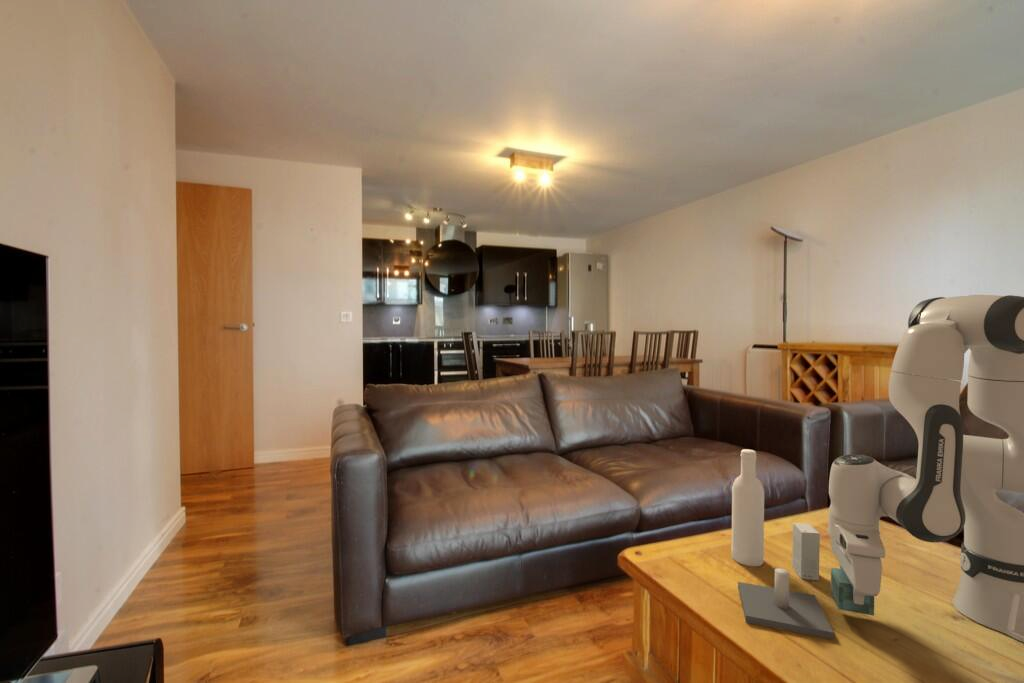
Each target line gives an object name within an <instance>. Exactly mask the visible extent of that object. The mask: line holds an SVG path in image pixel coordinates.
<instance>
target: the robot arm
mask: <svg viewBox="0 0 1024 683" xmlns="http://www.w3.org/2000/svg"><path fill="white" fill-rule="evenodd" d="M907 325H908V326H907V327H908V329H906V330H905V331H904V333H903V334H902V336H901V339H900V341H899V344H898V346H897V349H896V352H895V354H894V358H893V360H892V365H891V369H890V370H891V371H890V374H889V379H888V398H889V399H888V400H889V402H890V404H891V405H892V407H893V408H894V409H895V410H896V411H897V412H898V413H899V414H900V415H901V416H902V417H903V418H904V419H905V420H906V421H907V423H909V424H910V426H911V428H912V429H913V430H914V432H915V435H916V437H917V440H918V451H917V466H916V476H915V477H916V478H915V477H913V476H911V475H909V474H908V473H905V472H902V471H900V470H895V469H892V468H890V467H888V466H887V465H884V464H882V463H880V462H878V461H877V460H876V459H874V457H872V456H868V455H865V454H858V453H857V454H856V453H855V454H852V453H851V454H845V455H844V454H843V455H840V456H839V457H837V458H835V459H834V460H833V462H832V464H831V467H830V470H829V471H830V472H829V479H828V495H829V499H830V505H829V507H828V518H827V519H828V520H827V521H828V522H827V526H828V527H827V532H828V535H829V536H830V550H831V551H832V553H833V555H834V556H835V558H836V561H838V565H839V569H843V570H844V572H845V573H846V575H847V577H848V578H849V580H850V582H851V584H852V585H853V587H854V588H853V592H852V599H853V601H854V603H855V604H860V605H863V604H864V597H865V595H868V596H874V597H877V596H878V595H879V594H880V591H881V584H882V572H883V568H882V567H883V564H882V559H885V557H886V548H885V546H884V543H883V542H882V538H881V531H880V518H882V517H887V518H888V517H889V518H890V519H892V520H894V521H895V522H896V523H897V524H899V525H900V526H901V527H902V528H903V529H904V530H906V532H908V533H909V534H910V535H911V536H912V537H914V538H916V539H917V540H919V541H922V542H926V543H942V542H946V541H949V540H951V539H953V538H955V537H957V536H958V535H959V534H960V533H961V532H962V531H963V542H962V543H961V546H960V548H961V549H960V559H959V560H960V569H961V574H960V579H959V582H958V587H957V590H956V593H955V594H954V597H953V599H952V601H951V602H952V605H953V607H954V608H955V610H957V611H958V612H959V613H961V614H962V615H964V616H965V617H967V618H968V619H970V620H972V621H974V622H976V623H977V624H981V625H983V626H985V627H987V628H989V629H993V630H995V631H998V632H1000V633H1004V635H1005V634H1006V635H1007V636H1009V637H1011V638H1013V639H1015V640H1017V641H1019V642H1021V643H1024V512H1023V511H1021V510H1020V509H1018V508H1015V507H1014V506H1011V505H1010V504H1007V503H1006V502H1004V501H1003V500H1001V499H1000V498H999V497H998V495H997V493H996V492H997V491H1005V492H1010V493H1015V494H1020V495H1024V296H1021V295H1014V294H1013V295H992V294H971V295H961V296H952V297H951V296H950V297H944V296H943V297H942V296H939V297H933V298H928V299H925V300H922V301H920V302H919V303H917V304H916V305H915V307H914V308H913V309H912V310H911V312H910V314H909V316H908V322H907ZM968 350H970V355H969V361H968V371H967V372H968V373H967V407H968V410H969V411H970V413H972V414H973V415H974V416H976V417H977V418H979V419H981V420H982V421H984V422H986V423H989V424H991V425H993V426H996V427H998V428H1000V429H1002V430H1003V431H1004V432H1005V433H1006V434H1007V435H1008V438H1002V439H1001V438H995V437H985V436H977V435H968V434H967V435H966V434H964V425H963V424H964V423H963V419H962V415H961V411H960V395H961V394H960V391H961V385H962V381H963V375H964V368H965V367H964V366H965V353H966V352H967V351H968Z"/></svg>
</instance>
